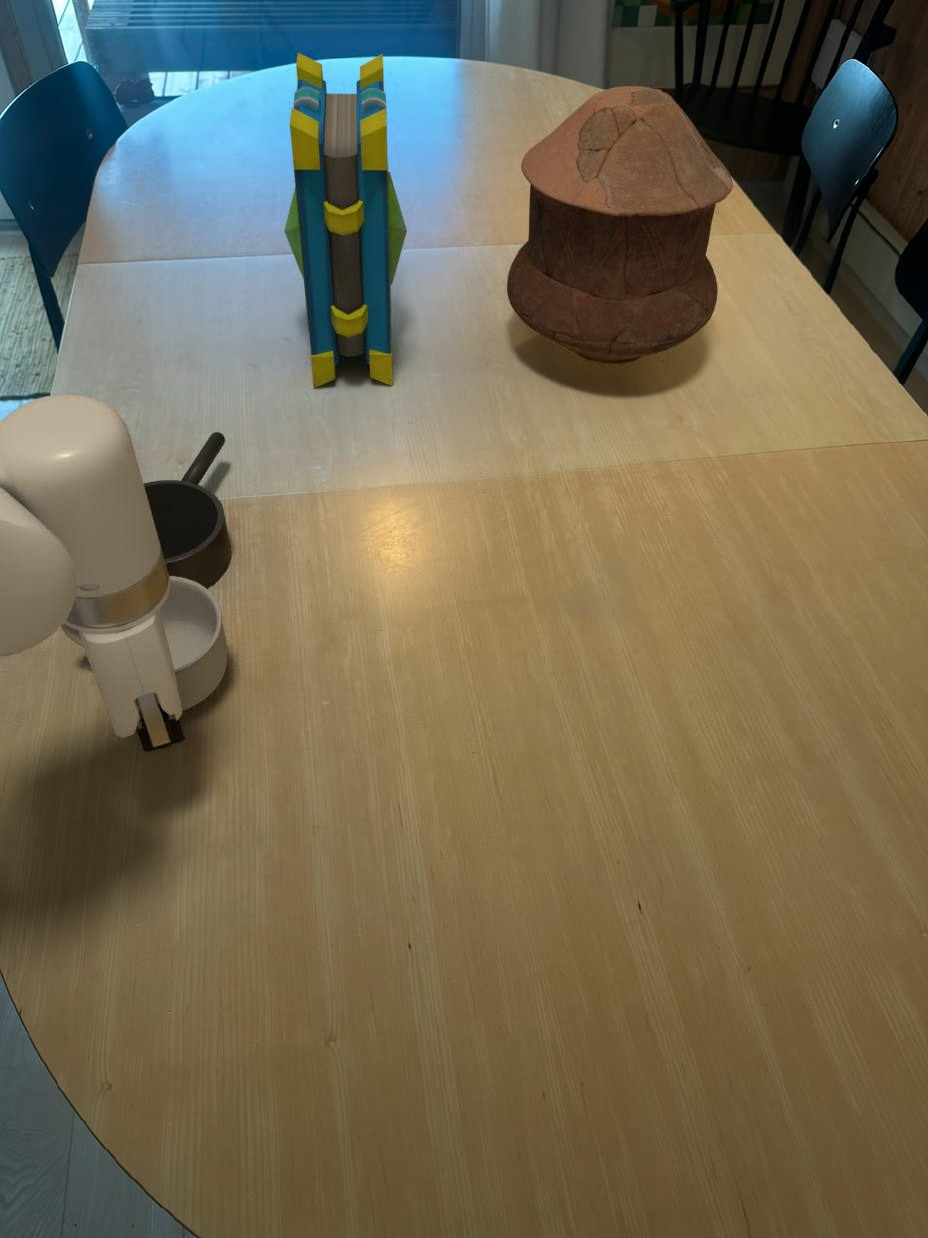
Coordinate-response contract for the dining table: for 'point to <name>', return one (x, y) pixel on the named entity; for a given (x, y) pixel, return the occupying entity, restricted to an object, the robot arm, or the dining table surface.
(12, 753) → the dining table surface
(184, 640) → the teacup
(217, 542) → the milk pan
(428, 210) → the dining table surface
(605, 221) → the pottery vessel
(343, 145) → the decorative book
